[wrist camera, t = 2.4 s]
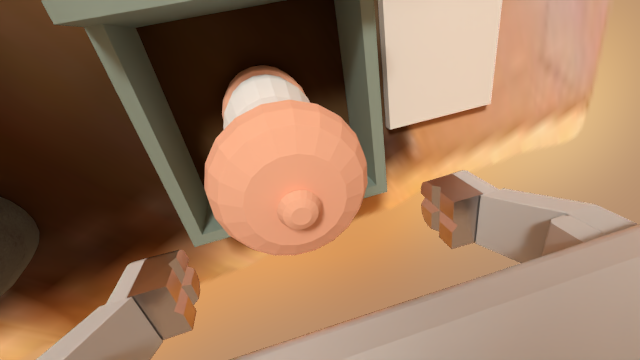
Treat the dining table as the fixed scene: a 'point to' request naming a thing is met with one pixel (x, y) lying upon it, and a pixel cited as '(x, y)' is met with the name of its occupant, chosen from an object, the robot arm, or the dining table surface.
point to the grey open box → (155, 114)
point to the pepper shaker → (282, 166)
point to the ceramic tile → (436, 57)
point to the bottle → (15, 242)
